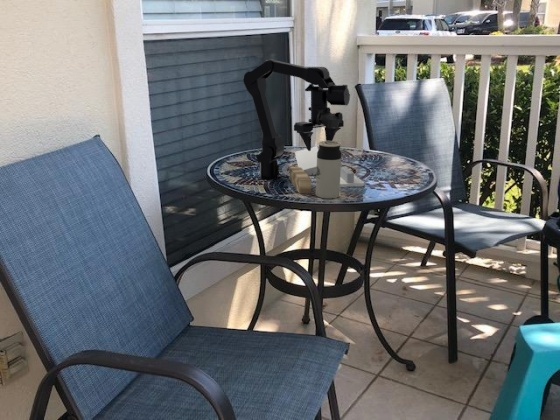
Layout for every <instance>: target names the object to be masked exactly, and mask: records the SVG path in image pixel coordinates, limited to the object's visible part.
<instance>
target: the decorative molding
mask: <svg viewBox="0 0 560 420" xmlns="http://www.w3.org/2000/svg"><path fill="white" fill-rule="evenodd" d="M318 150H319V146H317V145H316V146H313V147H312V146H311V151H308V150H307V148H304V149H301V150H297V151H294V155H295V158H296V163H297V167H301V168H302V169H303V170H304V172H305V173H306V174H307V175H308V176H316V171H317V152H318Z"/></svg>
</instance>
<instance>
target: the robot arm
mask: <svg viewBox="0 0 560 420" xmlns="http://www.w3.org/2000/svg"><path fill="white" fill-rule="evenodd" d="M273 73H276V74H277V73H278V74H282V75H285V76H286V75H287V76H290V77H294V78H299V79H302V80H303V81H305V82H306V83H309V84H308V86H307V87H306V88H305V89H304V91H305V92H310V106H309V107H308V111H310V118H309V119H308V121H299V122H294V125H293V131H294V132H296V133H298V134H299V136H300V137H301V139H302V141H303V143H304V145H305V147H306V149H307V150H308V151H311V147H312V136H313V134H314V132H313V130H314V129H316V128H324V133H325V141H334V138H335V135H336V133H337V132H338V131H340V130H341V129H342V127H343V128H344V126H345V125H344V120H343V116H344V115H343V113H342V112H340V111H339V112H335V113H332V112H331V108H330V107H329V106H328V104H329V105H330V106H348V105H349V103H350V98H351V94H350V91H349V88H348V84H342V85H341V84H338V85H337V84H336V82H334V80H333V78H332V77H331V76H330V71H329V69H328V68H327V67H325V66H303V65H299V64H293V63H290V62H289V63H288V62H285V61H280V60H277V59H274V58H271V59H266V60H265V61H264V62H263V63H262V64H260V65H258V66H257V67H255V68H254V69H253V70H250V71H247V72H245V73H244V75H243V78H242V82H243V85H244V87H245V89H246V91H247V92H248V93H249V95H250V96H251V97H252V101H253V104H254V107H255V112H256V116H257V120H258V122H259V127H260V130H261V133H262V139H261V150H262V151H260V153H258V155H256V160H257V163H259V173H258V176H259V178H260V179H261V180H265V179H266V180H269V179H270V180H272V179H279V176H280V165H279V164H278V163H279V162H278V160H280V157H281V156H282V155H283V153H284V151H285V146H286V144H285V143H284V137H283V135H281V134H280V135H278V133H277V132H276V129H275V125H274V122H273V118H272V115H271V112H270V111H271V110H270V108H269V104H268V99H267V95H266V91H267V79H268V78H270V77H271V76H272V75H273Z"/></svg>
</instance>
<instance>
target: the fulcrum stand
mask: <svg viewBox="0 0 560 420" xmlns="http://www.w3.org/2000/svg"><path fill="white" fill-rule="evenodd" d="M365 185H366V184H365V182H364V181H363V180H361V179H360V178H359V177H358V176H356V174H355V173H354V172H353V171H352V170H351V169H349V168H348V167H347V166H341V173H340V188H345V187H346V188H348V187H350V188H351V187H365Z"/></svg>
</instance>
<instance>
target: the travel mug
mask: <svg viewBox="0 0 560 420" xmlns="http://www.w3.org/2000/svg"><path fill="white" fill-rule="evenodd" d="M317 145H318V152H317V171H316V175H315V176H316V177H315V196H317V197H319V198H321V199H326V200H327V199H328V200H331V199H332V198H333V199H337V198H338V197H340V193H341V191H340V189H341V187H340V173H341V167H342V151H341V149H340V148H341V146H342V143H341V142H340V141H336V140H335V141H334V140H333V141H326V140H322V141H319V142H318V143H317Z"/></svg>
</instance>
